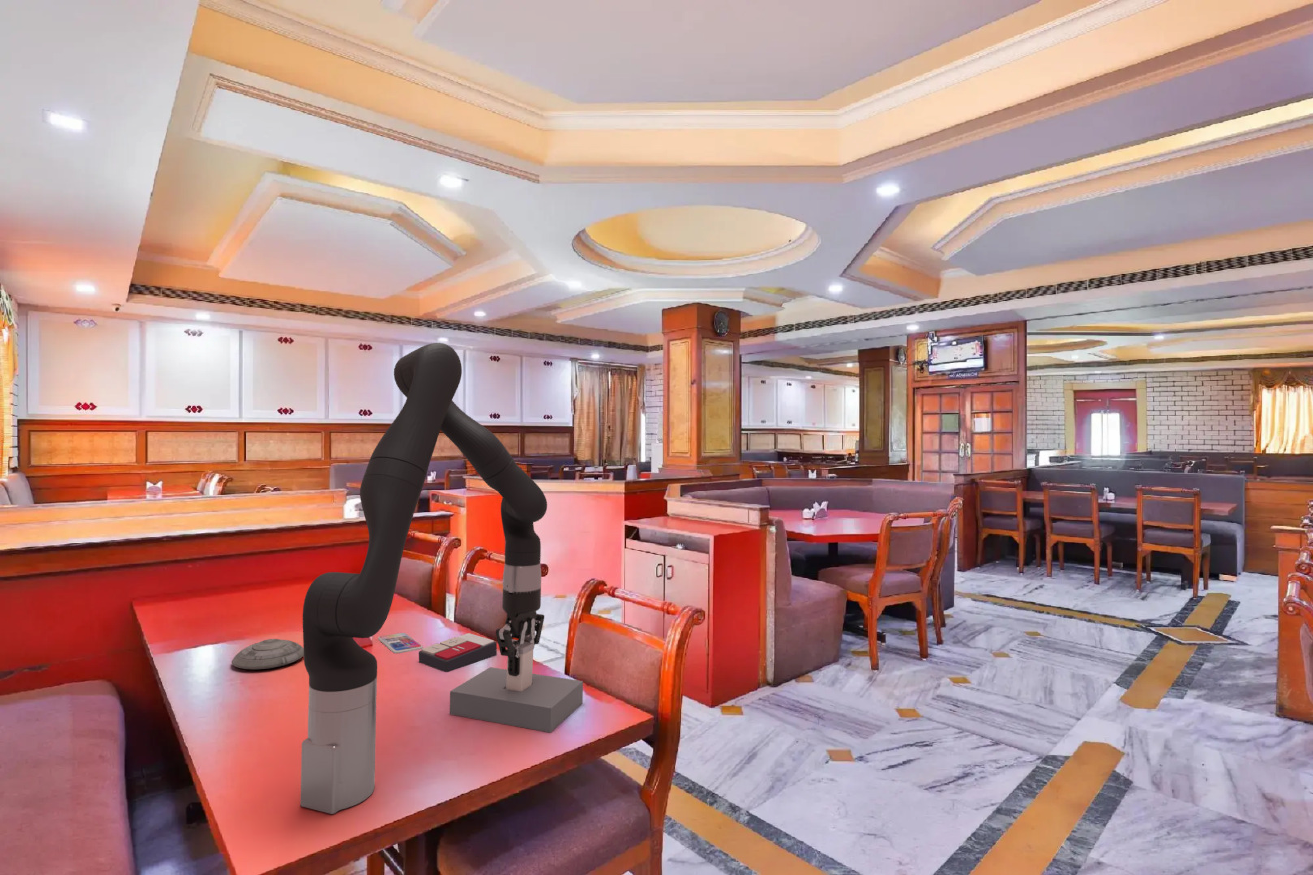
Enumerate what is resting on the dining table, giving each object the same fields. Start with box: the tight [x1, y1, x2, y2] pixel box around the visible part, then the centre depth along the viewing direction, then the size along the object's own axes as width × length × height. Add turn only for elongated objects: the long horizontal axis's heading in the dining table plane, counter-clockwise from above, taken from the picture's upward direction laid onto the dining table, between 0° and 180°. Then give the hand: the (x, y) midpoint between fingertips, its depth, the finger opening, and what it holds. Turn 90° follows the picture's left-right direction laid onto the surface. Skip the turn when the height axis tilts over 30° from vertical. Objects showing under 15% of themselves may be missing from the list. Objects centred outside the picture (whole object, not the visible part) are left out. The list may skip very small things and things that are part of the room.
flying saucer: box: [231, 638, 304, 670], centre depth 149 cm, size 15×15×6 cm
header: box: [449, 666, 584, 733], centre depth 126 cm, size 14×22×4 cm, turn 72°
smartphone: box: [377, 632, 424, 655], centre depth 164 cm, size 7×1×15 cm
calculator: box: [418, 632, 498, 673], centre depth 154 cm, size 11×4×15 cm
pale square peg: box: [506, 641, 535, 692], centre depth 126 cm, size 4×4×11 cm
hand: (520, 671), depth 126 cm, fingers closed on pale square peg, 3 cm apart
